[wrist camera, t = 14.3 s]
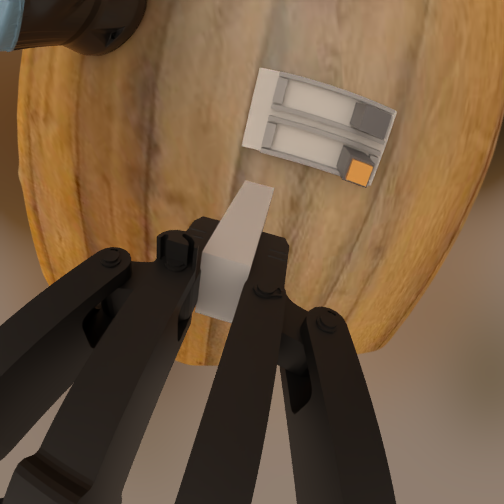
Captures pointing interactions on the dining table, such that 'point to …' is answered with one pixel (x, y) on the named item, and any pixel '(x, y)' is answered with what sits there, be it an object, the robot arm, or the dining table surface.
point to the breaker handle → (355, 166)
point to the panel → (314, 121)
